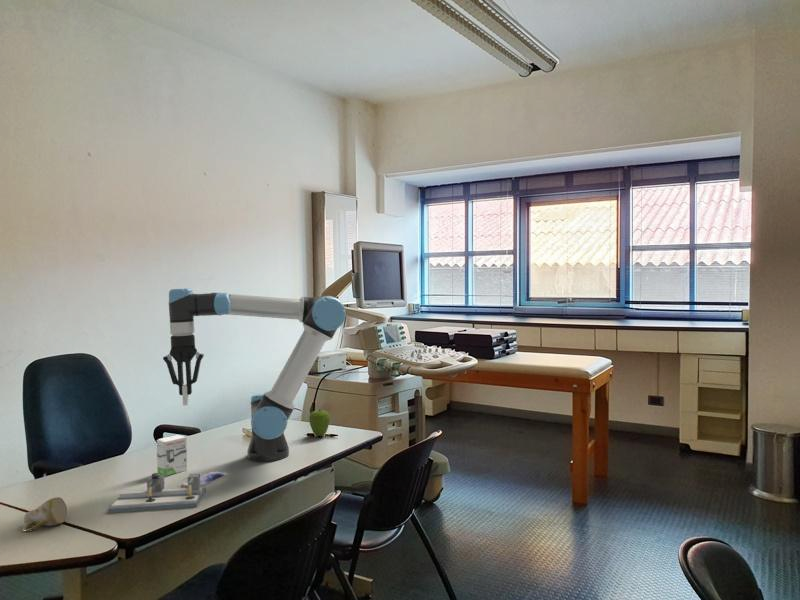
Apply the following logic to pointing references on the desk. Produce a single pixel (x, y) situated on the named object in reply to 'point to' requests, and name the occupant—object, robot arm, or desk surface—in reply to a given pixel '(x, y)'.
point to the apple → (319, 422)
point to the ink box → (171, 455)
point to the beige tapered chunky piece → (46, 514)
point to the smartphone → (208, 478)
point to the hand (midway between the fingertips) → (186, 404)
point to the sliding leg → (155, 484)
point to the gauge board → (161, 498)
